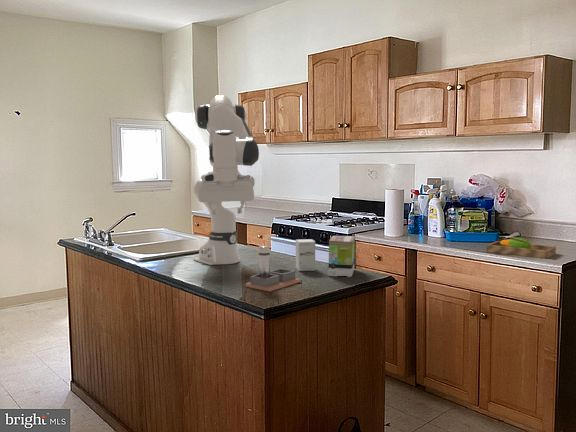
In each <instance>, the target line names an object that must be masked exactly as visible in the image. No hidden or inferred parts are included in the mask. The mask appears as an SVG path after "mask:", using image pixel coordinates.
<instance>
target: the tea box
mask: <svg viewBox="0 0 576 432" xmlns="http://www.w3.org/2000/svg"><path fill="white" fill-rule="evenodd" d="M355 239H356V237H355V236H354V235H353V236H352V235H332V236H331V237H330V239H329V241H328V270H327V271H328V275H327V276H328V277H337V276H347V277H346V278H351V277H353V274H354V270H355V255H356V254H355V250H356V248H355V246H356V240H355Z"/></svg>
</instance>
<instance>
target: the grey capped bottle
mask: <svg viewBox="0 0 576 432" xmlns="http://www.w3.org/2000/svg"><path fill="white" fill-rule="evenodd" d="M270 256H271V251H270V246H269V245H260V246H258V274H259V277H260V278H269V277H270V271H271V267H270V266H271V262H270V259H271V257H270Z"/></svg>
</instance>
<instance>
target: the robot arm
mask: <svg viewBox="0 0 576 432" xmlns="http://www.w3.org/2000/svg"><path fill="white" fill-rule="evenodd" d="M194 119H195V122H196V125H197V127H198V128H199V129H202V130H209V139H208V140H209V141H208V142H209V143H208V148H209V150H208V151H209V157H208V160H209V163H210V165H211V166H212V169H213V170H212V171H209V172H207V173H205V174H204V173H203V174H201V176H200V179H198V180H196V182H195V184H194V188H193V192H194V195H195V197H196V198H197V201H198V202H200V203H203V205H205V207H206V208H207V210H208V212H209V216H210V222H211V223H210V224H211V231H210V232H209V233H207V236H209V237H208V240H206V242H204V243H203V244H202V245H201V246H200V247H199V250H198V256H196V257H194V258H193V261H196V262H199V263H201V264H205V265H211V266H213V265H231V264H237V263H239V262H241V259H240V258H241V257H240V255H239V249H238V241H237V239H238V233H237V229H236V228H237V226H236V225H237V222H236V214H235V212H233V210H232V209H228V208H226V207H224V205H223V204H222V203H224V202H227V203H228V202H240V203H239V204H240V206H239V207H237V214H242V213H243V209H244V206H245V202H252V201H253V200H254V199H255V192H254V188H255V187H254V186H255V184H256V183H255V182H256V181H255V178H254V176H251V175H249V174H248V175H244V174H243V175H242V173H241V172H240V171H239V169H238V168H239V167H238V166H246V167H248V166H249V167H252V166H253V165H255V164H256V163H257V162H258V161H259V157H260V149H259V145H258V143H257V141H256V140H255V139H254V136H253V135H252V133H251V130H250V129H249V127H248V124H247V122H246V121H247V113H246V109H245V107H244V106H243V105H241V104H237V103H235V104H233V102H232V101H231V99H230V98H229V97H228V96H226V95H223V94H219V95H215V96H214V97H212V99H211V100H210V103H209V104H206V103H205V104H202V105H199V106H198V107H197V108H196V112H195V114H194ZM237 138H239V139H237Z"/></svg>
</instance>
